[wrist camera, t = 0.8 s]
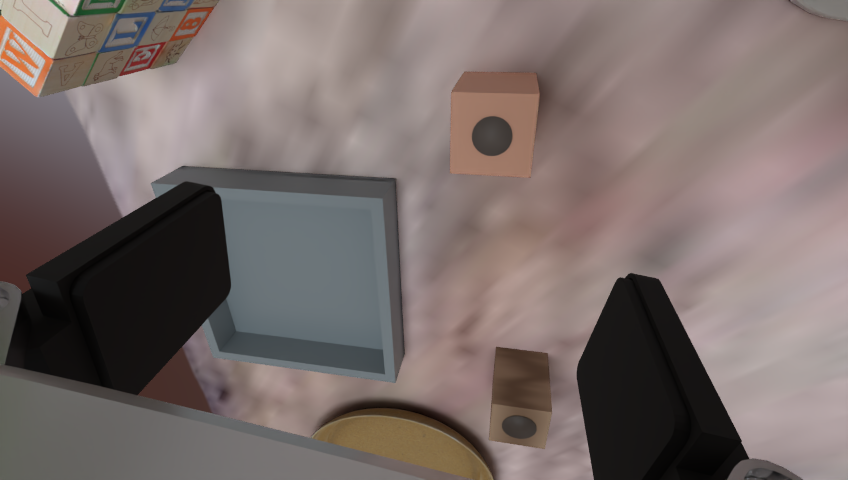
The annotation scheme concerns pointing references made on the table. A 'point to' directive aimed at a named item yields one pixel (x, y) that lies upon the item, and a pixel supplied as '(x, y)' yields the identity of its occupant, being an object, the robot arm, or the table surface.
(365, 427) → the plant saucer
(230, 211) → the tray
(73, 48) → the stack of blocks
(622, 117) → the table surface
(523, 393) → the walnut block
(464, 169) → the terracotta block
